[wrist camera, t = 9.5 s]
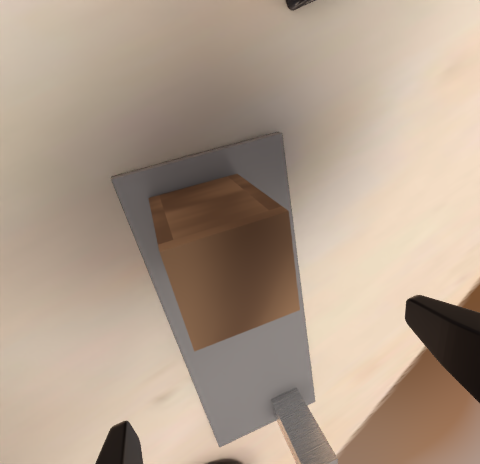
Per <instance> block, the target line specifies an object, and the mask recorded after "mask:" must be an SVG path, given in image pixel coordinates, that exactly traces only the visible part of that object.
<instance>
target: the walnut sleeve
mask: <svg viewBox="0 0 480 464" xmlns="http://www.w3.org/2000/svg"><path fill="white" fill-rule="evenodd" d="M148 199H149V204H150V208H151V213H152V218H153V223H154V228H155V233H156V238H157V243H158V248H159V252H160V255H161V258H162V261H163V264H164V266H165V269H166V272H167V275H168V278H169V281H170V284H171V286H172V289H173V292H174V295H175V298H176V301H177V303H178V306H179V309H180V312H181V315H182V318H183V321H184V323H185V326H186V329H187V332H188V335H189V338H190V341H191V343H192V346H193V349H194V352H195V351H197V350H200V349H202V348H205V347H207V346H210V345H213V344H215V343H218V342H220V341H223V340H225V339H228V338H230V337H233V336H235V335H238V334H241V333H243V332H246V331H248V330H251V329H253V328H256V327H258V326H261V325H263V324H266V323H269V322H271V321H274V320H276V319H279V318H281V317H284V316H286V315H289V314H291V313H294V312H296V311H299V310H300V305H299V297H298V288H297V279H296V270H295V261H294V252H293V244H292V235H291V226H290V217H289V211H288V210H287V209H285V208H284V207H283V206H281V205H280V204H278V203H277V202H276V201H274V200H273V199H272V198H270V197H269V196H267V195H266V194H265V193H263V192H262V191H261V190H259V189H258V188H256V187H255V186H254V185H252V184H251V183H249V182H248V181H247V180H245V179H244V178H243V177H241V176H240V175H238V174H234V175H230V176H227V177H223V178H219V179H216V180H212V181H208V182H205V183H201V184H197V185H194V186H190V187H187V188H183V189H179V190H176V191H172V192H168V193H165V194H161V195H158V196H154V197H150V198H148Z"/></svg>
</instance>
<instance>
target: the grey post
mask: <svg viewBox="0 0 480 464" xmlns="http://www.w3.org/2000/svg"><path fill="white" fill-rule="evenodd" d="M271 402H272V406H273V411H274V415H275V418H276V420H277V422H278V424H279V426H280V429H281V431H282V433H283V435H284V437H285V440H286V442H287V444H288V446H289V448H290V450H291V453H292V455H293V457H294V459H295V461H296V464H338V459H337V457H336V455H335V453H334V452H333V450H332V448H331V446H330V445H329V443H328V441H327V439H326V438H325V436H324V434H323V433H322V431H321V429H320V427H319V426H318V424H317V422H316V420H315V419H314V417H313V415H312V413H311V412H310V410H309V408H308V407H307V405H306V403H305V401H304V400H303V398H302V396H301V394H300V393H299V391H298V389H297V387H296V388H294V389H292V390H290V391H287V392H285V393H283V394H281V395H279V396H277V397H275V398H272V399H271Z"/></svg>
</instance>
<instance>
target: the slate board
mask: <svg viewBox="0 0 480 464" xmlns="http://www.w3.org/2000/svg"><path fill="white" fill-rule="evenodd" d="M234 174H238V175H240V176H241V177H243V178H244V179H245V180H247V181H248V182H249V183H251V184H252V185H254V186H255V187H256V188H258V189H259V190H261V191H262V192H263V193H265V194H266V195H267V196H269V197H270V198H272V199H273V200H274V201H276V202H277V203H278V204H280V205H281V206H283V207H284V208H285V209H287V210H288V211H289V217H290V226H291V235H292V244H293V252H294V261H295V270H296V279H297V288H298V297H299V305H300V310H299V311H296V312H294V313H291V314H289V315H286V316H284V317H281V318H279V319H276V320H274V321H271V322H269V323H266V324H263V325H261V326H258V327H256V328H253V329H251V330H248V331H246V332H243V333H241V334H238V335H235V336H233V337H230V338H228V339H225V340H223V341H220V342H218V343H215V344H213V345H210V346H207V347H205V348H202V349H200V350H197V351H195V352H194V349H193V346H192V343H191V341H190V338H189V335H188V332H187V329H186V326H185V323H184V321H183V318H182V315H181V312H180V309H179V306H178V303H177V301H176V298H175V295H174V292H173V289H172V286H171V284H170V281H169V278H168V275H167V272H166V269H165V266H164V264H163V261H162V258H161V255H160V252H159V248H158V243H157V238H156V233H155V228H154V223H153V218H152V213H151V208H150V204H149V199H148V198H150V197H154V196H158V195H161V194H165V193H168V192H172V191H176V190H179V189H183V188H187V187H190V186H194V185H197V184H201V183H205V182H208V181H212V180H216V179H219V178H223V177H227V176H230V175H234ZM111 180H112V183H113V185H114V188H115V190H116V193H117V195H118V198H119V200H120V203H121V205H122V208H123V210H124V213H125V215H126V218H127V220H128V222H129V225H130V227H131V230H132V232H133V235H134V237H135V240H136V242H137V245H138V247H139V250H140V252H141V255H142V257H143V260H144V262H145V264H146V267H147V269H148V272H149V274H150V277H151V279H152V282H153V284H154V287H155V289H156V292H157V294H158V297H159V299H160V302H161V304H162V306H163V309H164V311H165V314H166V316H167V319H168V321H169V324H170V326H171V329H172V331H173V334H174V336H175V339H176V341H177V344H178V346H179V348H180V351H181V353H182V356H183V358H184V361H185V363H186V366H187V368H188V371H189V373H190V376H191V378H192V381H193V383H194V386H195V388H196V390H197V393H198V395H199V398H200V400H201V403H202V405H203V408H204V410H205V413H206V415H207V418H208V420H209V423H210V425H211V428H212V430H213V433H214V435H215V437H216V440H217V442H218V445H219V447H222V446H224V445H226V444H228V443H230V442H232V441H234V440H236V439H238V438H240V437H242V436H244V435H247V434H249V433H251V432H253V431H255V430H257V429H259V428H261V427H263V426H265V425H267V424H269V423H272V422H274V421H276V418H275V415H274V411H273V406H272V402H271V399H272V398H275V397H277V396H279V395H281V394H283V393H285V392H287V391H290V390H292V389H294V388H296V387H297V389H298V391H299V393H300V394H301V396H302V398H303V400H304V401H305V403H306V405H309V404H311V403H313V402H315V395H314V387H313V379H312V371H311V363H310V354H309V346H308V338H307V330H306V322H305V314H304V306H303V298H302V290H301V282H300V274H299V266H298V258H297V250H296V242H295V233H294V225H293V217H292V209H291V201H290V193H289V185H288V177H287V169H286V161H285V153H284V145H283V137H282V133H280V132H276V133H272V134H268V135H265V136H261V137H257V138H253V139H250V140H246V141H242V142H239V143H235V144H231V145H227V146H224V147H220V148H216V149H213V150H209V151H205V152H202V153H198V154H194V155H190V156H187V157H183V158H179V159H176V160H172V161H168V162H165V163H161V164H157V165H153V166H150V167H146V168H142V169H139V170H135V171H131V172H127V173H124V174H120V175H116V176H113V177H111Z"/></svg>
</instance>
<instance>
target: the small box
mask: <svg viewBox="0 0 480 464" xmlns="http://www.w3.org/2000/svg"><path fill="white" fill-rule="evenodd" d="M286 1H287V4H288V7H289V8H290V9H291V10H295V9H297V8H299V7H301V6H304V5H306V4H308V3H311V2H313V1H315V0H286Z"/></svg>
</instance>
